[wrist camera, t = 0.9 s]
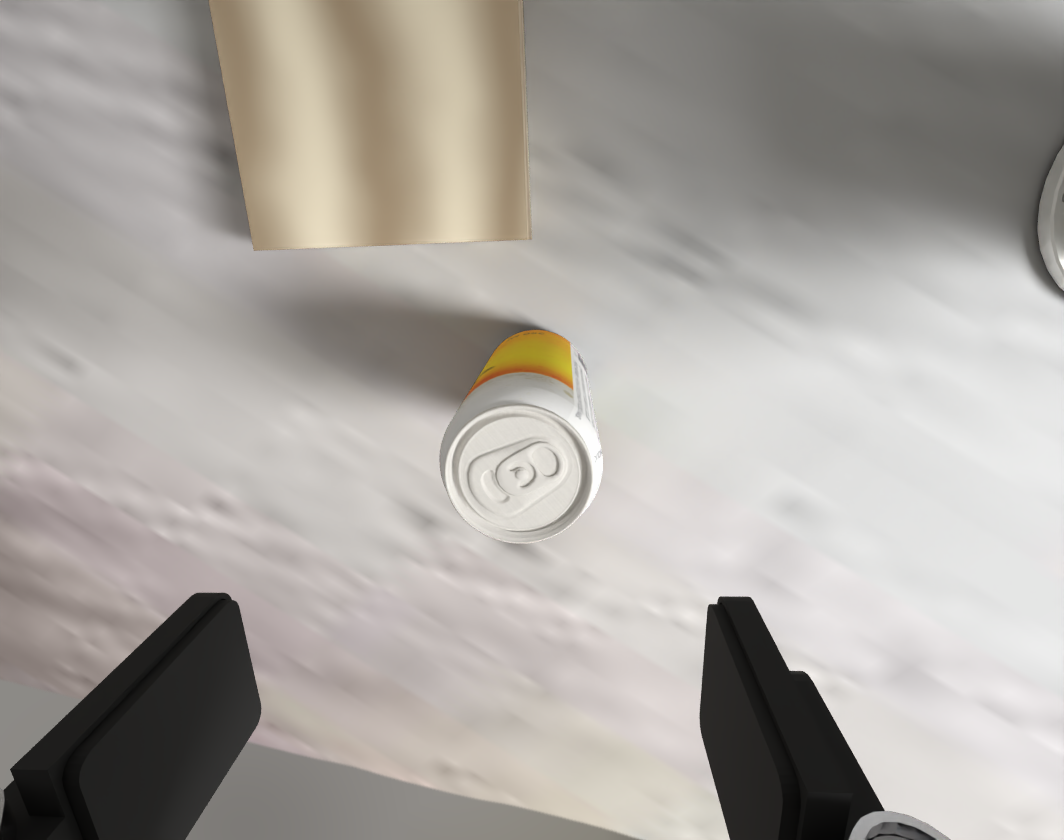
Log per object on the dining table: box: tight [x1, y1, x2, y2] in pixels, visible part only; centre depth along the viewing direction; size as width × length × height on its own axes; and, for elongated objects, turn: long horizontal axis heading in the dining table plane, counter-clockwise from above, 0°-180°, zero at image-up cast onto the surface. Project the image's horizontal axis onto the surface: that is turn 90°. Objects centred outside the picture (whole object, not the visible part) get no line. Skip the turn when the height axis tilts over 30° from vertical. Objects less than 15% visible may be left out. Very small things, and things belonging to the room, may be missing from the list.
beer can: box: [439, 330, 603, 544], centre depth 27 cm, size 6×6×15 cm
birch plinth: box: [208, 0, 532, 251], centre depth 28 cm, size 14×14×4 cm
